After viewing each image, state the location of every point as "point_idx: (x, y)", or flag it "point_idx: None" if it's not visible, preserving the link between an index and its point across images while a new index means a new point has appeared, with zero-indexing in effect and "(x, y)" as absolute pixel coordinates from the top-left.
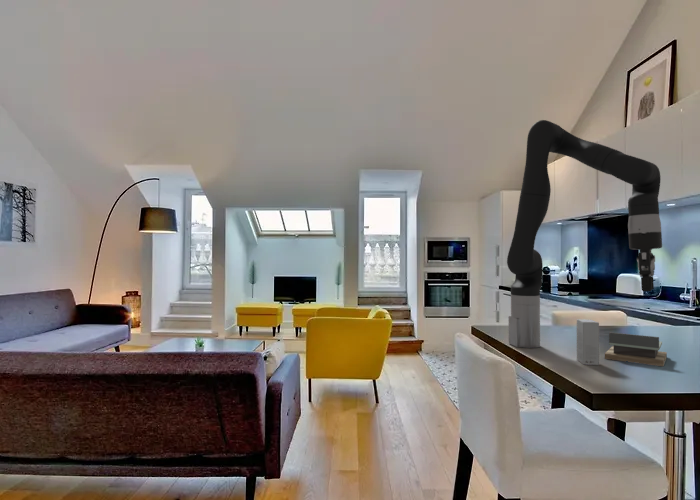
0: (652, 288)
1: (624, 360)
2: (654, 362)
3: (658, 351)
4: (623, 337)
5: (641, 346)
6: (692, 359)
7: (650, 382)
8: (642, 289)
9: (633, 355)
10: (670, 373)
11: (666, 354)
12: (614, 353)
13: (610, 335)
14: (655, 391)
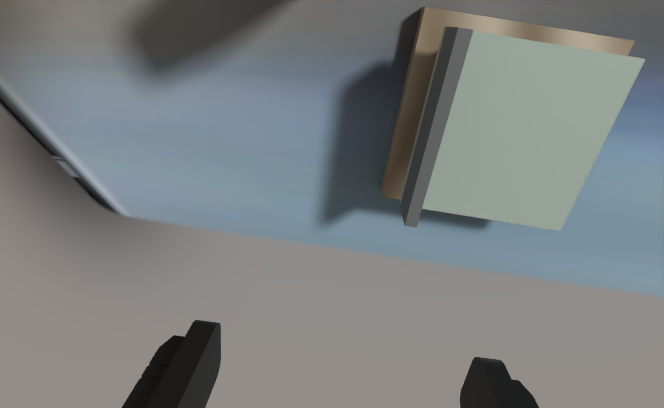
0: (463, 402)
1: (405, 81)
2: (385, 171)
3: None
4: (434, 95)
5: (412, 153)
6: (532, 272)
7: (147, 137)
8: (191, 328)
9: None
10: (295, 195)
11: None
12: None
13: (453, 34)
14: (61, 139)
